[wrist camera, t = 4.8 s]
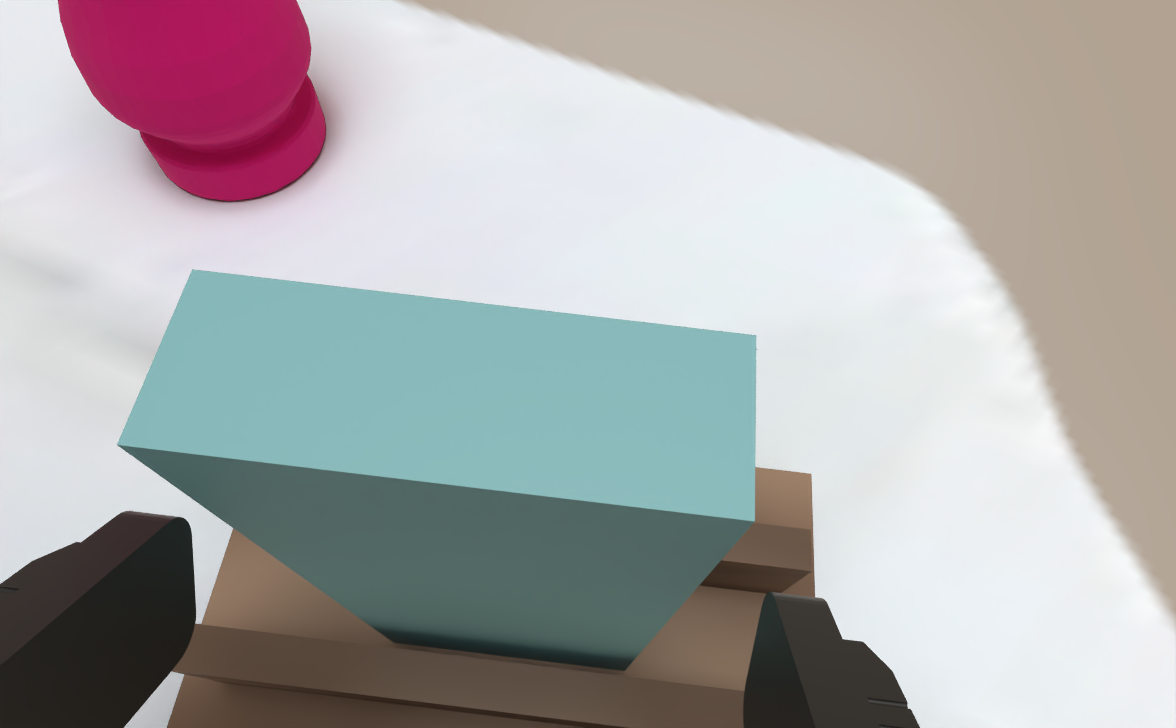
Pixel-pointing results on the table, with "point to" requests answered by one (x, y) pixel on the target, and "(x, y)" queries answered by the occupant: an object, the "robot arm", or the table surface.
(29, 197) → the table surface
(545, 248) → the table surface
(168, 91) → the pepper mill
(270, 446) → the teal rectangular block
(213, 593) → the rack
